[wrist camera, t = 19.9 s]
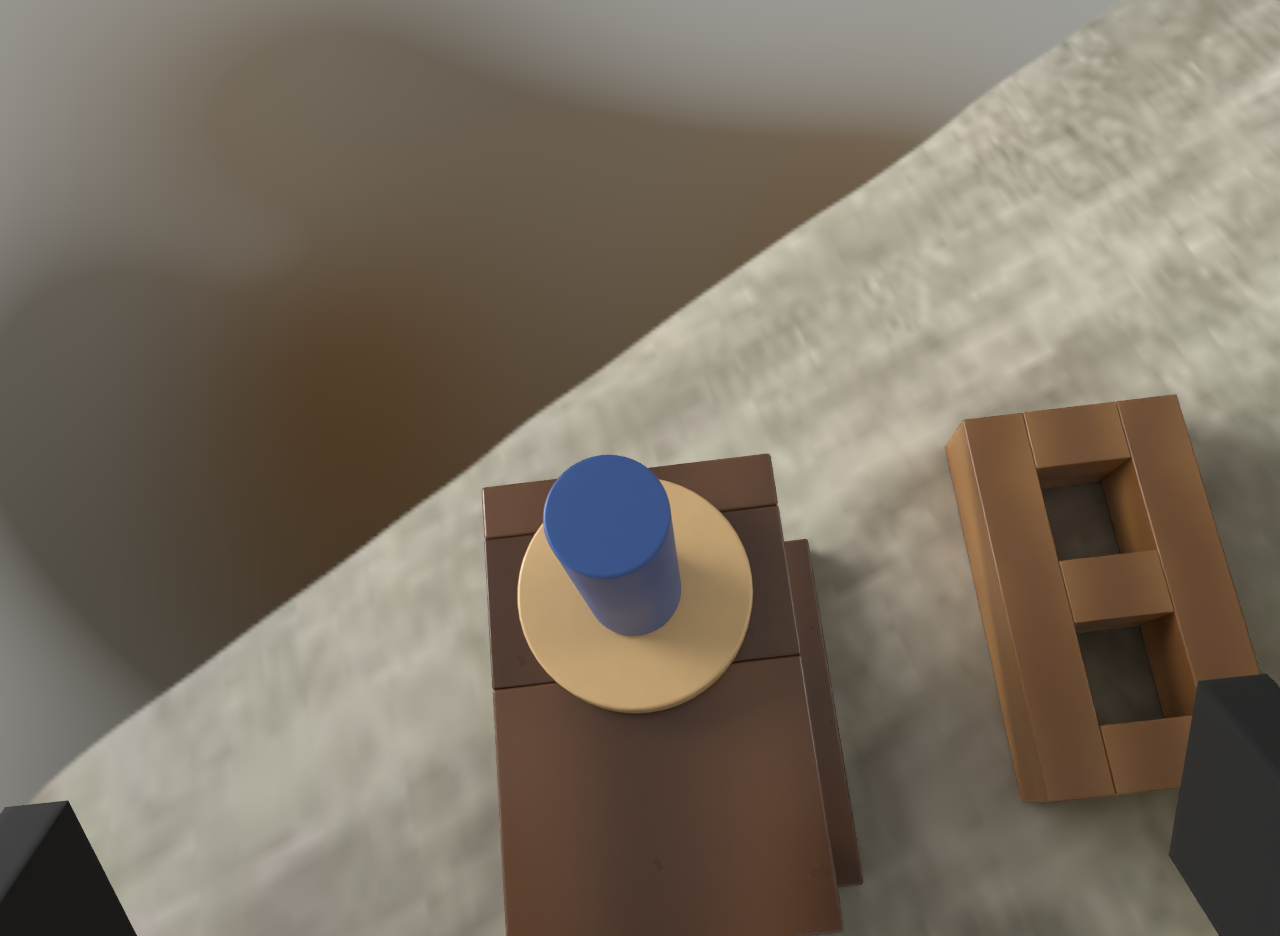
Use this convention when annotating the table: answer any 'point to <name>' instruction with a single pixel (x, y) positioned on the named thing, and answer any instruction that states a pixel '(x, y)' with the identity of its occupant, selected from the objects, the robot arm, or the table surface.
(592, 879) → the stand
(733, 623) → the peg
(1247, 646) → the peg holder
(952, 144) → the table surface
